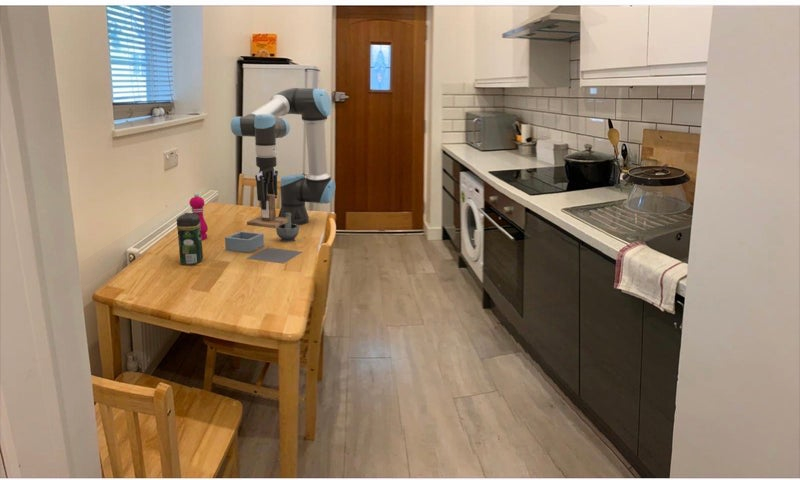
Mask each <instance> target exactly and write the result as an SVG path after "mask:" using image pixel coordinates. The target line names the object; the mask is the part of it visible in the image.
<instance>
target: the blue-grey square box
mask: <svg viewBox="0 0 800 480" xmlns="http://www.w3.org/2000/svg"><path fill="white" fill-rule="evenodd" d="M264 237H265V235H264V233H262V232H261V233H259V232H251V231H243V230H239V231H237V232H234V233H232V234H230V235H228V236H225V237H224V240H225V241H224V243H225V244H224V245H225V251H230V252H237V253H246V254H251V253H253V252H254V251H255V252H256V251H257V250H259V249H261V248H263V247H264V246H265V238H264Z"/></svg>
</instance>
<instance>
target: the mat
mask: <svg viewBox="0 0 800 480" xmlns="http://www.w3.org/2000/svg"><path fill="white" fill-rule="evenodd" d="M302 253H303V251H299V250H290V249H284V248H283V249H282V248H277V247H266V248H264V249H261V250H260V251H258V252H256V253H254V254H252V255H250V256H248V257H246V260H247V259H248V260H255V261H260V262H261V261H263V262H270V263H276V264H277V263H278V264H285V263H287V262H288V261H290V260H291V259H293V258H295V257H297V256H298V255H300V254H302Z"/></svg>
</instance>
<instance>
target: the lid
mask: <svg viewBox="0 0 800 480" xmlns="http://www.w3.org/2000/svg"><path fill="white" fill-rule="evenodd" d="M267 201H268V203H269V218H264V217H262V209H261V208H260V212H261V214H260V216H257V217H255V218H253V219H251V220H249V221H246V225H247V226H251V227H262V228H271V229H276V228H277V227H279V226H281V225H283V224H285V223H287V222H288V221H290V218H285V217H278V216H276V211H277V210H276V198H275V194H267Z"/></svg>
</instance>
